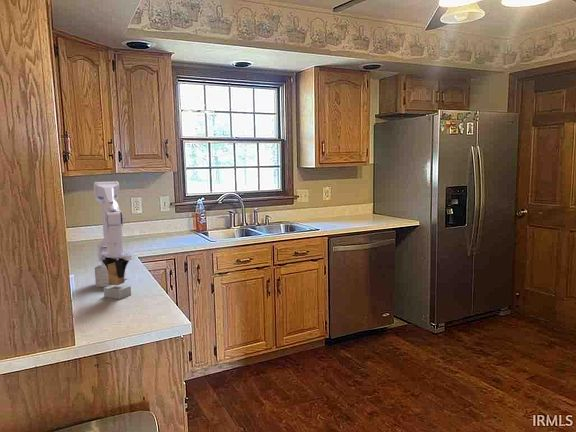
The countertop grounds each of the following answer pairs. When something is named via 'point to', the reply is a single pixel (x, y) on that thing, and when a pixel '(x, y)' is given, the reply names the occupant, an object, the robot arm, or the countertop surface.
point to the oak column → (114, 275)
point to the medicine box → (101, 276)
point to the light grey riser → (117, 291)
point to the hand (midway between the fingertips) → (116, 276)
